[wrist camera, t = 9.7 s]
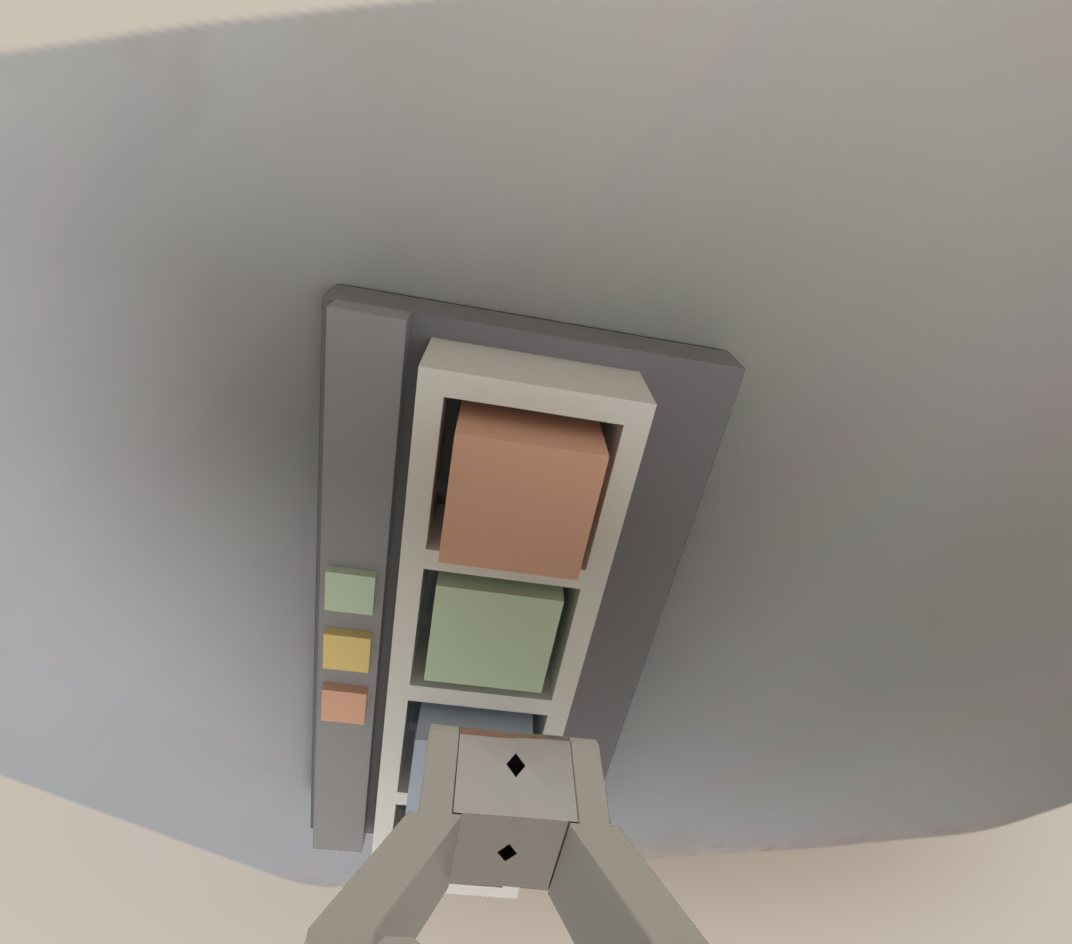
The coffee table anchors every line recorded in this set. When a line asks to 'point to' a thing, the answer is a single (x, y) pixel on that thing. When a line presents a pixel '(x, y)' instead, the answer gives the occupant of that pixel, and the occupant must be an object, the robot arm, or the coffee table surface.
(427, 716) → the key slate
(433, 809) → the robot arm
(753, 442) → the coffee table surface
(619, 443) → the coloured button panel
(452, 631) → the key sage
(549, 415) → the key terracotta
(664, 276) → the coffee table surface
